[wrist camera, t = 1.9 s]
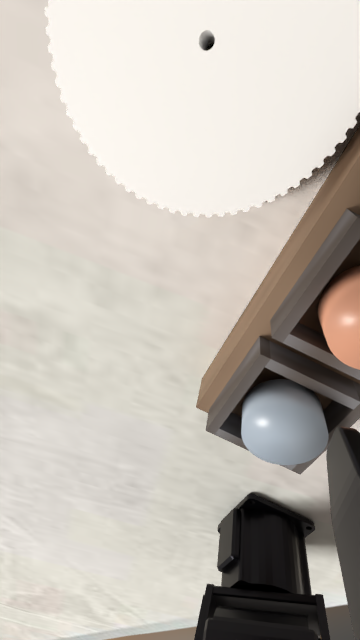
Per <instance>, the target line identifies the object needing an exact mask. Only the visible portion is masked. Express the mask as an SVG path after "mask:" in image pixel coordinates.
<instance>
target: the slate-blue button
mask: <svg viewBox="0 0 360 640" xmlns="http://www.w3.org/2000/svg"><path fill="white" fill-rule="evenodd" d="M241 435H242V440H243V442H244V444H245V446H246V447H247V449H248V450H249V451H250V452H251V453H252V454H254V455H255V456H256V457H258V458H260V459H262V460H264V461H267V462H270V463H273V464H279V465H296V464H301V463H305V462H308V461H310V460H312V459H314V458H316V457H317V456H318V455H320V454H321V453H322V452H323V450H324V449H325V447H326V445H327V443H328V436H329V435H328V429H327V425H326V421H325V417H324V413H323V409H322V405H321V402H320V400H319V398H318V396H317V395H316V394H315V392H314V391H313V390H311V389H309V388H307V387H305V386H303V385H301V384H299V383H296V382H294V381H292V380H286V379H275V380H269V381H265V382H262V383H260V384H258V385H256V386H255V387H253V388H252V389H251V390H250V391H249V392H248V393H247V394H246V396H245V398H244V400H243V405H242V428H241Z"/></svg>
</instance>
